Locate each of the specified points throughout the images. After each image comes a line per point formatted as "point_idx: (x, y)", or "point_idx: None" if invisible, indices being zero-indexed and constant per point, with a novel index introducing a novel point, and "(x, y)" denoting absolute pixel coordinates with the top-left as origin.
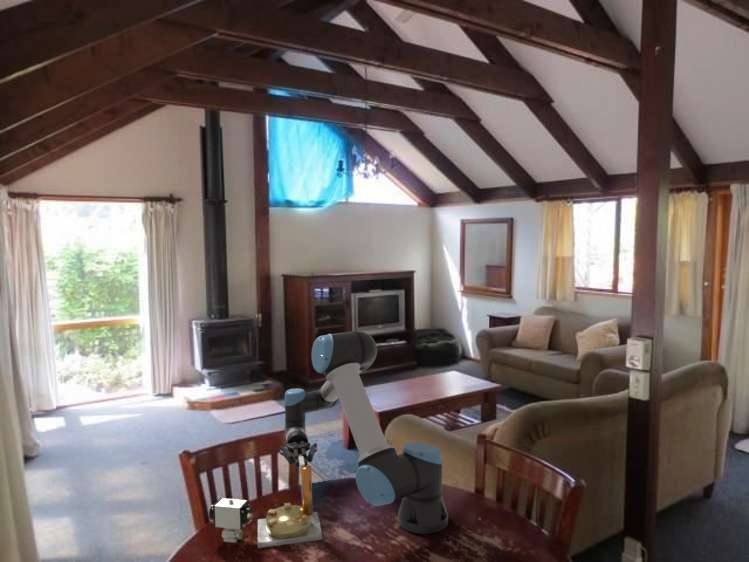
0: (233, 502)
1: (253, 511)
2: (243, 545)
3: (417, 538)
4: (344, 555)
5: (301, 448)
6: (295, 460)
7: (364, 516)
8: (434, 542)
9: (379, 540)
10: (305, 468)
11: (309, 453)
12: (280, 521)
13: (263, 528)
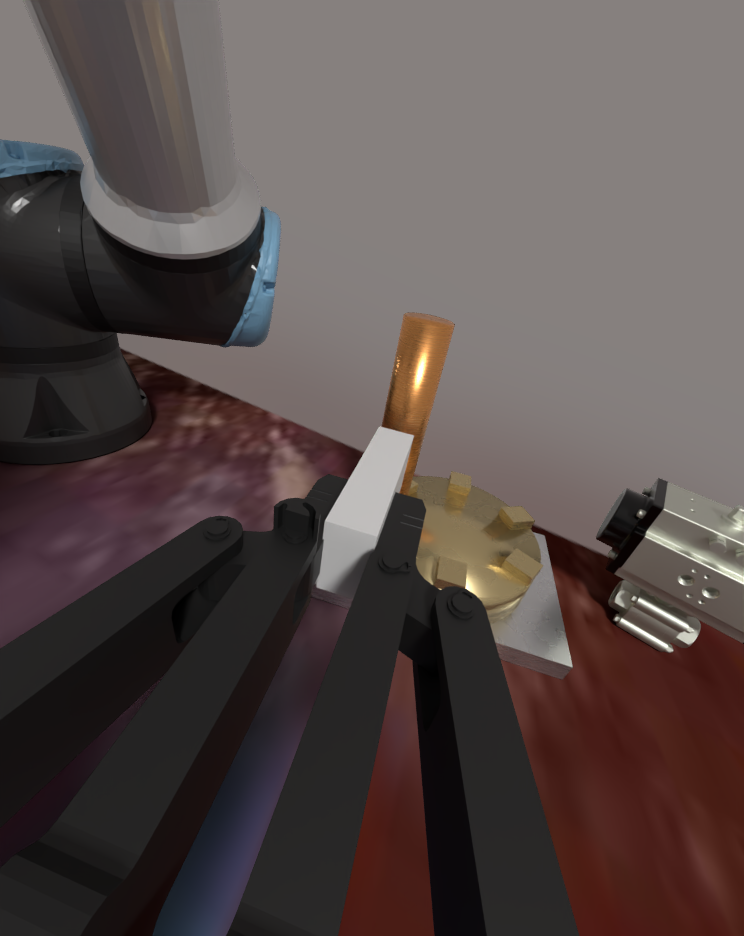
0: (722, 516)
1: (606, 524)
2: (586, 579)
3: (165, 406)
4: (339, 441)
5: (131, 860)
6: (418, 533)
7: (163, 511)
8: (154, 390)
9: (237, 435)
10: (435, 318)
11: (204, 550)
12: (486, 515)
13: (535, 591)
